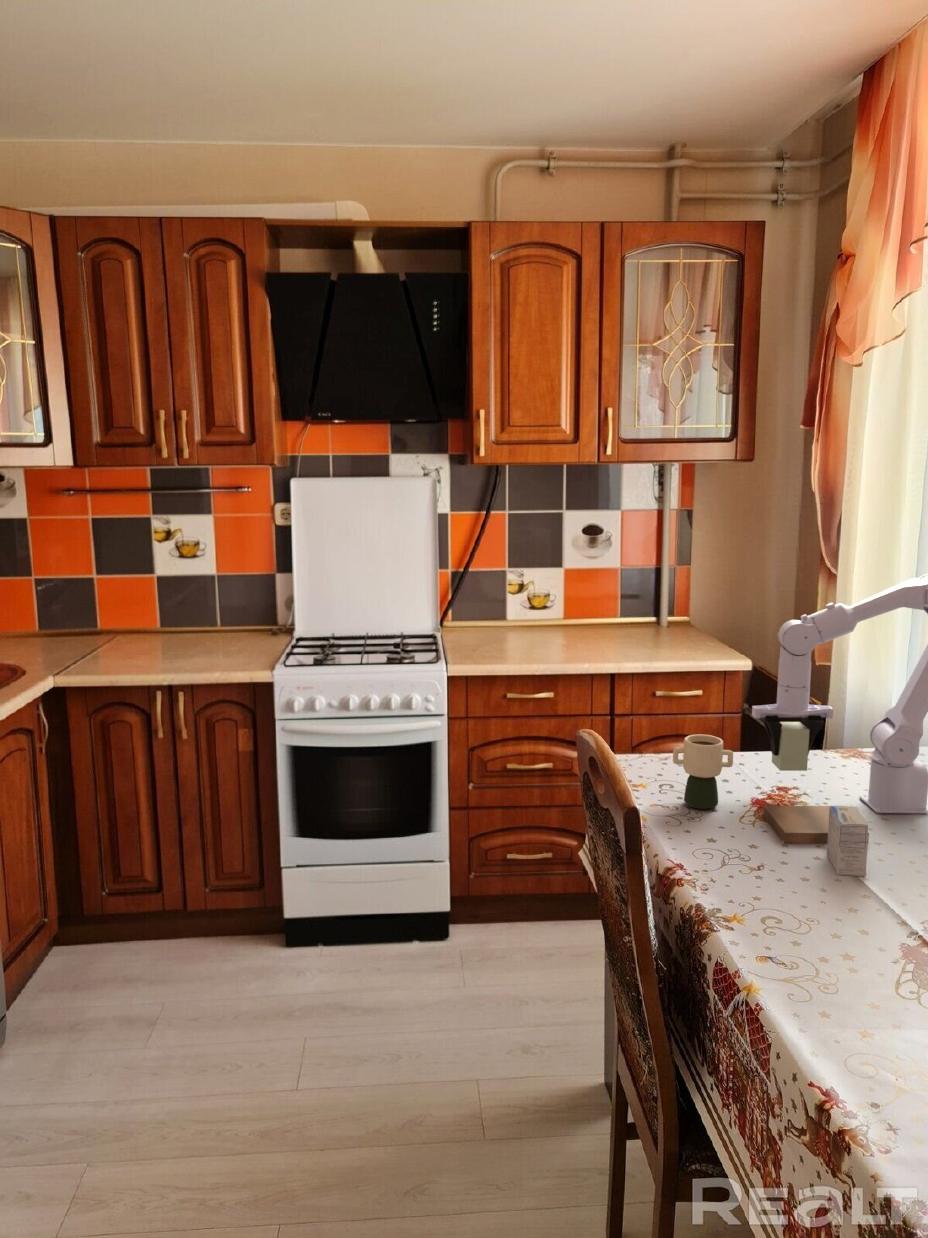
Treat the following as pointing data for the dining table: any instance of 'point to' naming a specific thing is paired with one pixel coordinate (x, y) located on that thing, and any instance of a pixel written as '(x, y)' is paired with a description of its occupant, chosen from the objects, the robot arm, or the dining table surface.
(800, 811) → the walnut base
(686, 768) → the beige green trophy cup
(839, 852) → the medicine box
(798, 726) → the sage block
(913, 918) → the dining table surface
